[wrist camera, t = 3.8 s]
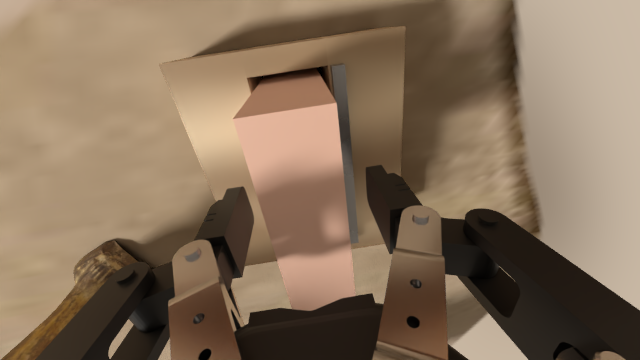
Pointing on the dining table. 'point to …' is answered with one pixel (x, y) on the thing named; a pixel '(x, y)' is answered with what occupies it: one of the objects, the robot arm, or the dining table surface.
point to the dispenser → (345, 86)
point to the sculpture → (74, 297)
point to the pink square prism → (300, 183)
